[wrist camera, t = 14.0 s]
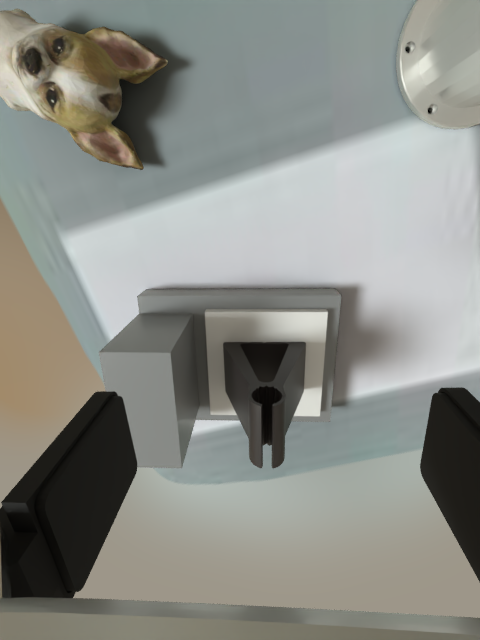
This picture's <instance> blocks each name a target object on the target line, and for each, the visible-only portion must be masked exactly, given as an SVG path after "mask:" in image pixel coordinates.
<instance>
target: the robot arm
mask: <svg viewBox="0 0 480 640" xmlns="http://www.w3.org/2000/svg"><path fill="white" fill-rule="evenodd" d="M405 49H408V53H407V52H406V51H405ZM396 72H397V78H398V84H399V88H400V90H401V93H402V95H403V98H404V100H405V101H406V103H407V105H408V106H409V108H410V109H411V110H412V111H413V112H414V113H415V114H416V115H417V116H418V117H419V118H420V119H421V120H423V121H425V122H426V123H428V124H430V125H433V126H436V127H439V128H443V129H461V128H468V127H471V126H474V125H478V124H480V0H417V1H416V3H415V4H414V5H413V7H412V9H411V11H410V13H409V15H408V17H407V19H406V21H405V23H404V26H403V29H402V32H401V35H400V38H399V43H398V49H397V55H396ZM428 109H430V114H429V113H428ZM420 468H421V474H422V477H423V479H424V481H425V483H426V484H427V486H428V488H429V490H430V492H431V493H432V495H433V497H434V499H435V501H436V503H437V505H438V506H439V508H440V510H441V512H442V514H443V515H444V517H445V519H446V521H447V523H448V524H449V526H450V528H451V530H452V532H453V534H454V536H455V537H456V539H457V541H458V543H459V545H460V547H461V548H462V550H463V552H464V554H465V556H466V558H467V559H468V561H469V563H470V565H471V567H472V568H473V570H474V572H475V574H476V576H477V578H478V580H479V581H480V402H479V401H478V400H477V399H476V398H475V397H474V396H473V395H472V394H471V393H470V392H469V391H468V390H466V389H465V388H441V389H440V390H439V391H438V393H434V394H433V396H432V401H431V407H430V412H429V418H428V424H427V429H426V435H425V441H424V447H423V452H422V458H421V464H420ZM136 471H137V459H136V454H135V450H134V445H133V441H132V436H131V432H130V428H129V423H128V419H127V414H126V410H125V405H124V401H123V398H122V397H121V396H118V394H117V393H116V392H114V391H110V392H96V393H94V394H93V395H92V397H91V398H90V399H89V400H88V401H87V402H86V404H85V405H84V406H83V407H82V408H81V409H80V411H79V412H78V413H77V414H76V415H75V417H74V418H73V419H72V420H71V421H70V422H69V424H68V425H67V426H66V427H65V428H64V430H63V431H62V432H61V433H60V434H59V435H58V436H57V438H56V439H55V440H54V441H53V442H52V444H51V445H50V446H49V447H48V448H47V449H46V451H45V452H44V453H43V454H42V455H41V456H40V458H39V459H38V460H37V461H36V463H34V465H33V466H32V467H31V468H30V469H29V471H28V472H27V473H26V474H25V475H24V476H23V478H22V479H21V480H20V481H19V482H18V483H17V485H16V486H15V487H14V488H13V489H12V490H11V492H10V493H9V494H8V495H7V496H6V497H5V499H4V500H3V501H2V502H1V503H2V505H3V506H2V507H1V509H0V640H480V618H471V617H452V616H434V615H417V614H399V613H381V612H363V611H345V610H344V611H343V610H324V609H305V608H286V607H285V608H284V607H266V606H245V605H225V604H204V603H181V602H179V603H178V602H157V601H134V600H112V599H83V598H73V597H74V594H75V592H78V591H80V590H81V589H82V588H83V586H84V585H85V583H86V580H87V578H88V576H89V574H90V572H91V569H92V567H93V565H94V563H95V561H96V559H97V557H98V554H99V552H100V550H101V548H102V546H103V544H104V542H105V539H106V537H107V535H108V533H109V531H110V528H111V526H112V524H113V522H114V520H115V518H116V516H117V513H118V511H119V509H120V507H121V504H122V503H123V500H124V498H125V496H126V494H127V492H128V490H129V487H130V485H131V483H132V481H133V479H134V477H135V474H136Z"/></svg>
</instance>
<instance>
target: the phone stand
mask: <svg viewBox="0 0 480 640" xmlns="http://www.w3.org/2000/svg"><path fill="white" fill-rule="evenodd" d="M223 352H224V373H225V392H226V394H227V396H228V398H229V400H230V402H231V404H232V406H233V408H234V410H235V412H236V414H237V416H238V418H239V420H240V422H241V424H242V426H243V428H244V430H245V432H246V434H247V436H248V438H249V458H250V460H251V462H252V463H253V464H254V465H255V466H257V467H259V468H262V466H263V446H264V445H265V444H266V443H267V444H268V445H269V446H270V445H272V468H276V467H278V466H280V465H281V464H282V463H283V461H284V454H285V435H286V432H287V430H288V428H289V425H290V423H291V421H292V418H293V416H294V414H295V411H296V409H297V407H298V404H299V402H300V400H301V397H302V395H303V392H304V378H305V356H306V343H305V342H265V343H263V342H224V343H223Z"/></svg>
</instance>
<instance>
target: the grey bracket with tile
mask: <svg viewBox="0 0 480 640" xmlns="http://www.w3.org/2000/svg"><path fill="white" fill-rule="evenodd" d="M137 298H138V306H139V315H138V316H137V317H135V318H134V319H133V320H132V321H131V322H130V323H129V324H128V325H127V326H126V327H125V328H124V329H123V330H122V331H121V332H120V333H119V334H118V335H117V336H115V337H114V338H113V339H112V340H111V341H110V342H109V343H108V344H107V345H106V346H105V347H104V348H103V349H102V350H101V351H100V352H99V356H100V362H101V367H102V373H103V378H104V384H105V390H106V392H110V391H114V392H116V393H117V394H118V396H121V397H122V398H123V401H124V405H125V410H126V414H127V419H128V423H129V428H130V432H131V436H132V441H133V445H134V450H135V454H136V459H137V467H150V468H182V466H183V462H184V459H185V455H186V451H187V448H188V444H189V441H190V437H191V434H192V430H193V427H194V423H195V420H239V418H238V416H237V414H236V412H235V410H234V408H233V406H232V404H231V402H230V400H229V398H228V396H227V394H226V392H225V373H224V352H223V343H224V342H263V343H265V342H305V343H306V356H305V378H304V392H303V395H302V397H301V400H300V402H299V404H298V407H297V409H296V411H295V414H294V416H293V418H292V421H304V422H330V417H331V406H332V394H333V383H334V372H335V361H336V350H337V339H338V327H339V316H340V305H341V295H340V293H339V292H338V291H337V290H336V289H146V290H145V291H143V292H142V293H141V294H140V295H138V296H137Z"/></svg>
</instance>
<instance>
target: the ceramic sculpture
mask: <svg viewBox="0 0 480 640" xmlns="http://www.w3.org/2000/svg"><path fill="white" fill-rule="evenodd" d="M167 63H168V62H167V60H166V59H165V58H163V57H161V56H159V55H157V54H155V53H154V52H153V51H152V50H150V49H149V48H147V47H146V46H144V45H143V44H141V43H140V42H138V41H137V40H135V39H133V38H131V37H130V36H129V35H127V34H126V33H124V32H123V31H114V30H111V29H108V28H106V27H100V28H95V29H92V30H91V31H89V32H87V33H86V34H78V33H76V32H72V31H69V30H66V29H64V28H61V27H58V26H56V25H55V24H52V23H48V24H43V23H38V22H36V21H35V20H34V19H33V18H31V17H30V15H29V14H27V13H26V12H24V11H22V10H20V9H14V10H12V11H0V96H1V97H2V98H3V99H4V101H5V102H6V104H7V105H8V106H9V107H11V108H12V109H15V110H17V111H29V110H30V111H33V112H34V113H36V114H37V115H39V116H40V117H41V118H43V119H46V120H49V121H52V122H55V123H58V124H59V125H61V126H62V127H64V128H66V129H67V130H68V131H69V133H70V134H71V136H72V138H73V139H74V141H75V142H76V143H77V145H78V146H79V147H80V148H81V149H82V150H83V151H84V152H86V153H89V154H91V155H92V156H94V157H95V158H96V159H98V160H99V161H103V162H108V163H111V164H115V165H119V166H123V167H127V168H128V167H132V168H135V169H140V170H143V165H142V163H141V161H140V159H139V158H138V156H137V153H136V151H135V149H134V146H133V144H132V141H131V139H130V137H129V136H128V135H127V134H126V133H125V132H123V131H121V130H119V129H118V128H117V127H115V126H113V125H112V124H111V122H112V121H113V120H114V119H116V117H117V116H118V114H119V111H120V109H121V106H122V90H121V87H120V85H119V79H124V80H127V81H128V82H130V83H135V84H137V83H141V82H143V81H144V80H146V79H147V78H149V77H150V76H151V75H152V74H154V73H155V72H156V71H158V70H160V69H161V68H163V67H165V66H166V65H167Z"/></svg>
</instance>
